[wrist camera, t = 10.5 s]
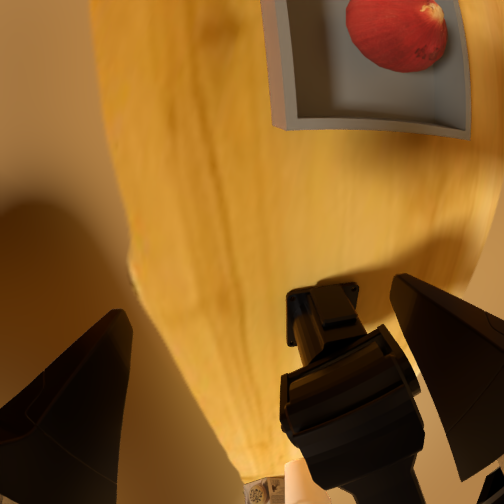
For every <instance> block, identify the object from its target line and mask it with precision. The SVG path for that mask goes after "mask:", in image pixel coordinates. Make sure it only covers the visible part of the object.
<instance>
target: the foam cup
mask: <svg viewBox="0 0 504 504" xmlns="http://www.w3.org/2000/svg"><path fill="white" fill-rule="evenodd" d="M285 504H332V503H331V499H330V498H329V496H328V494H327V491H326V490H323V489H322V488H321V487H319V486H318V485H317V484H316V483H314V481H313V480H312V477H311V475H310V472H309V469H308V466H307V464H306V461H305V459H304V458H301V459H296V460H292V461H290V462H287V463H286V464H285Z"/></svg>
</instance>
